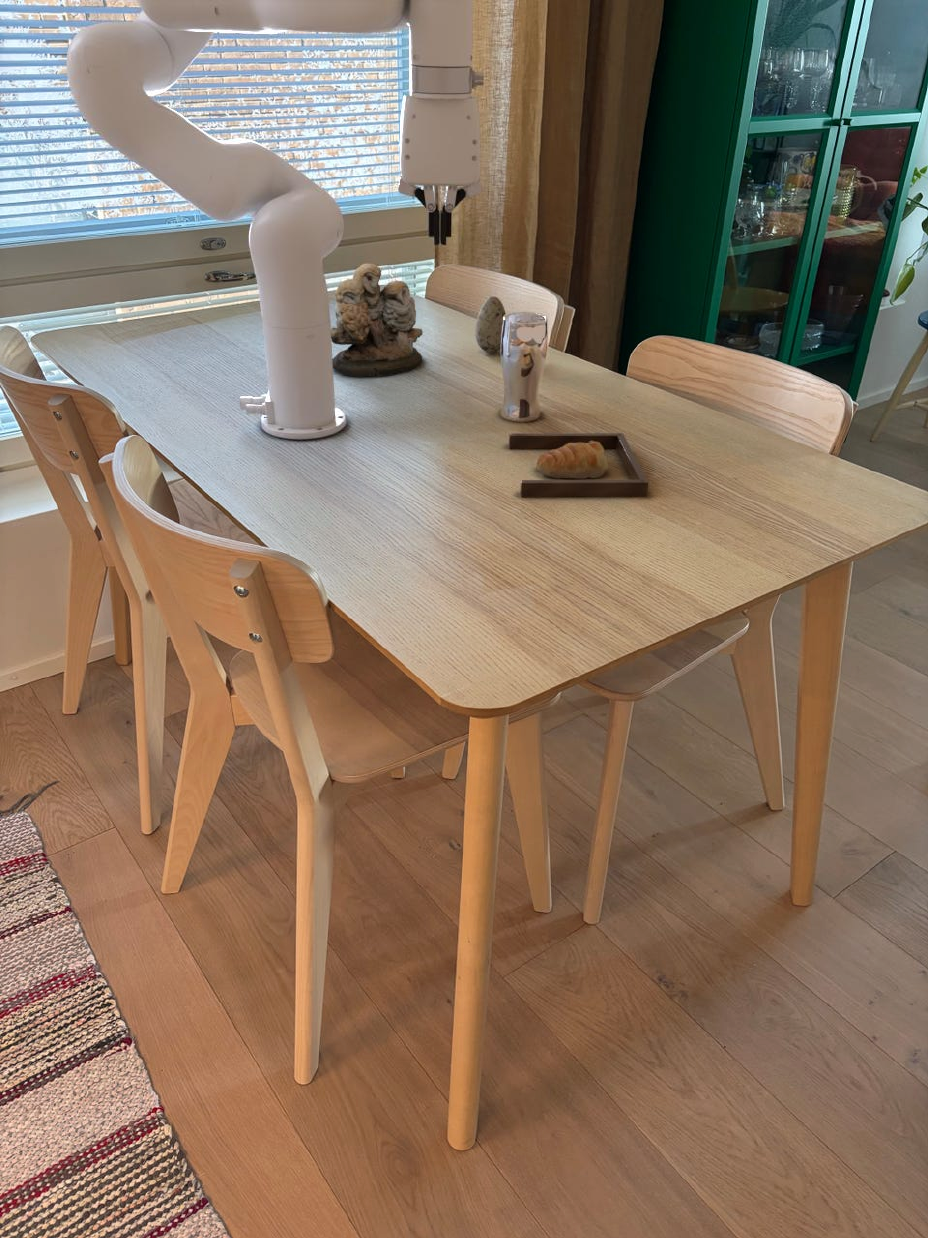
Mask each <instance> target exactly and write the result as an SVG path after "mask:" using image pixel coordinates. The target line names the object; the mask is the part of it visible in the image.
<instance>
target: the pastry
mask: <svg viewBox="0 0 928 1238" xmlns="http://www.w3.org/2000/svg"><path fill="white" fill-rule="evenodd" d="M608 467H609V466H608V459H607V457H606V452H605V449H604V448H603V447H602V445H601V444H600V443H599V442H594V441H590V442H589V443H568V444H565V445H564V446H563V447H560V448H558V449H549V451H547V452H544V453H543V454H541V455H540V456H539V457H538V459H537V461H536V465H535V469H536V470H538V472H540V473H542V474H543V475H545V476H548V477H551V478H552V479H553V478H555V479H557V480H560V479H566V480H571V479H575V480H583V479H587V478H592V479H597V478H600V477H602V476H604V475H605V473H607V471H608V469H609V468H608Z"/></svg>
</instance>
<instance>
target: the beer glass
mask: <svg viewBox="0 0 928 1238" xmlns="http://www.w3.org/2000/svg"><path fill="white" fill-rule="evenodd" d="M548 320H549V319H548V316H546V315H545V314H542V313H539V312H533V311H512V312H508V313H506V314H505V315H504V316H503V325H502V333H501V349H500V365H501V372H502V380H503V400H502V405H501V408H500V416H501V417H502V418H503V419H505V420H507V421H509V422H510V421H511V422H517V423H528V422H532V421H535V420H536V421H537V419H539V418H540V416H541V410H540V409H541V408H540V401H539V394H540V393H539V392H540V387H541V382H542V377H543V373H544V368H545V365H546V359H547V352H548Z"/></svg>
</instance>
